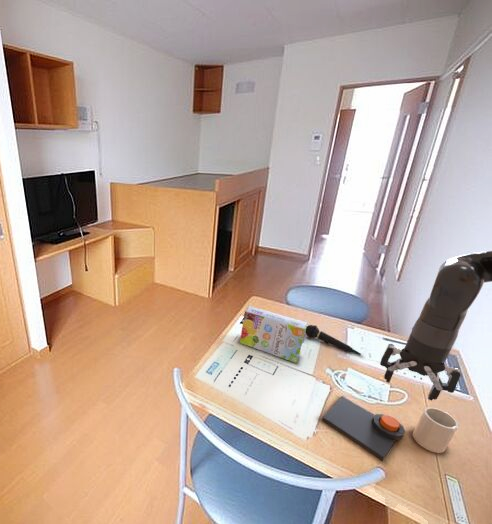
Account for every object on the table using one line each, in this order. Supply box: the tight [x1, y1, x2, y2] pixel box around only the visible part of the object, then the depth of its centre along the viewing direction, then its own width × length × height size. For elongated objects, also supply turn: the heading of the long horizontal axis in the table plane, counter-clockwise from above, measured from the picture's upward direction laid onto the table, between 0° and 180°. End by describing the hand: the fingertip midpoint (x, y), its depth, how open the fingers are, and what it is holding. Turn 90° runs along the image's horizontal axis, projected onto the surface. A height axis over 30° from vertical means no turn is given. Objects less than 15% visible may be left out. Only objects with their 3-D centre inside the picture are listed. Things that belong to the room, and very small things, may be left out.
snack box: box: [239, 305, 308, 364], centre depth 115 cm, size 21×6×15 cm, turn 56°
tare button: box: [380, 414, 401, 432], centre depth 84 cm, size 4×4×2 cm
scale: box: [321, 395, 406, 462], centre depth 86 cm, size 16×14×3 cm
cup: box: [412, 406, 459, 454], centre depth 81 cm, size 7×7×9 cm
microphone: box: [305, 324, 362, 356], centre depth 120 cm, size 6×6×20 cm
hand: (408, 389), depth 79 cm, fingers open, 8 cm apart
